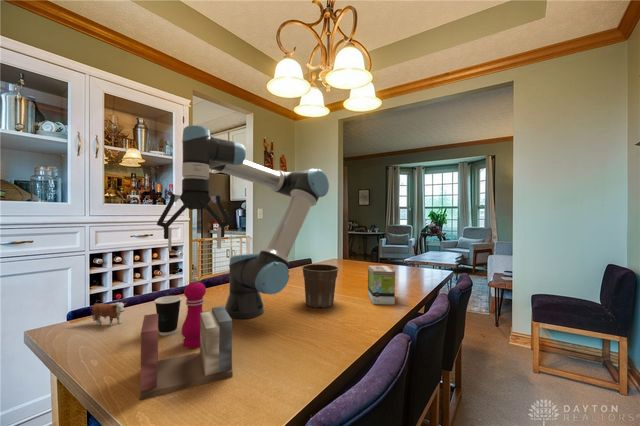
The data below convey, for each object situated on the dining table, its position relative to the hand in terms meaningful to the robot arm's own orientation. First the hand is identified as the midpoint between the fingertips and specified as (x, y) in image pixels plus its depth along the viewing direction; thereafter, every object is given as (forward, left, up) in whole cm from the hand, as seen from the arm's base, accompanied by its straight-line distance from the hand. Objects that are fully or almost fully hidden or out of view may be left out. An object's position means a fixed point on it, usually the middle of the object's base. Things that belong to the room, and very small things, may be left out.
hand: (195, 249), depth 87 cm
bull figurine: (+25, -30, -29) cm, 48 cm away
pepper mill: (0, 0, -29) cm, 29 cm away
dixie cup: (+7, -13, -29) cm, 32 cm away
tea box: (-80, -10, -29) cm, 86 cm away
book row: (+3, +16, -28) cm, 33 cm away
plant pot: (-52, -17, -29) cm, 62 cm away
